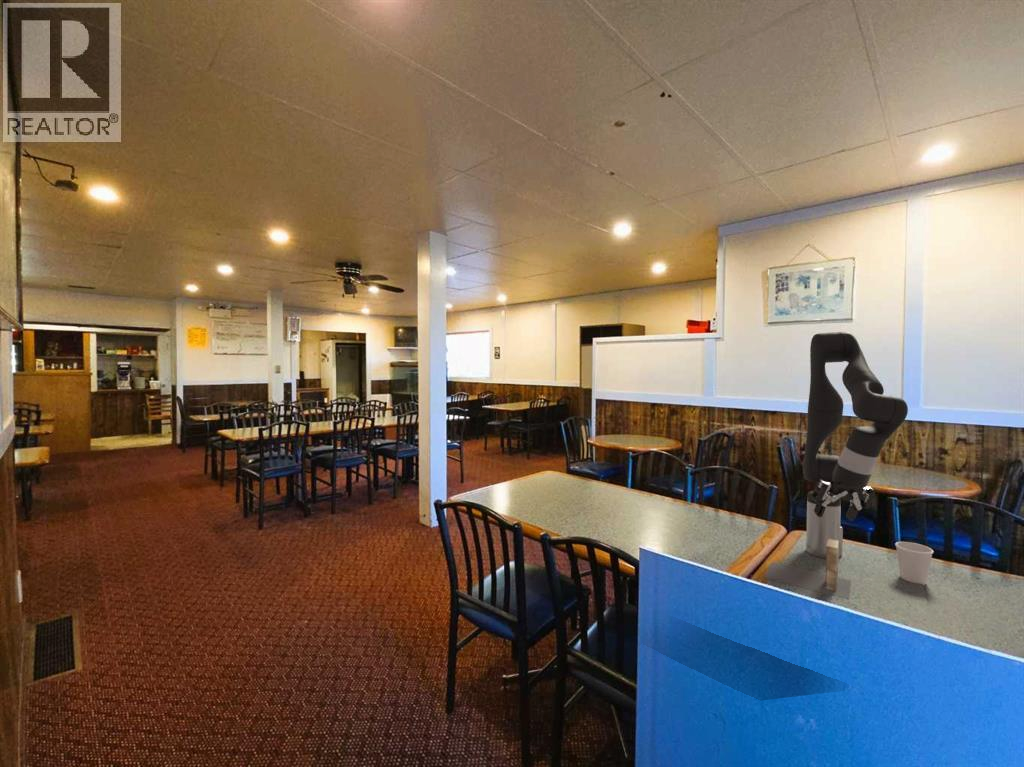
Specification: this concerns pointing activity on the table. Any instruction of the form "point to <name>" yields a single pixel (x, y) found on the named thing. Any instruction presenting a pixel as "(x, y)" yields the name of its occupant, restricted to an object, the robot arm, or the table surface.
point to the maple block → (832, 564)
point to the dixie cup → (914, 561)
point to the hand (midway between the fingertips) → (833, 517)
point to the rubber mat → (806, 579)
